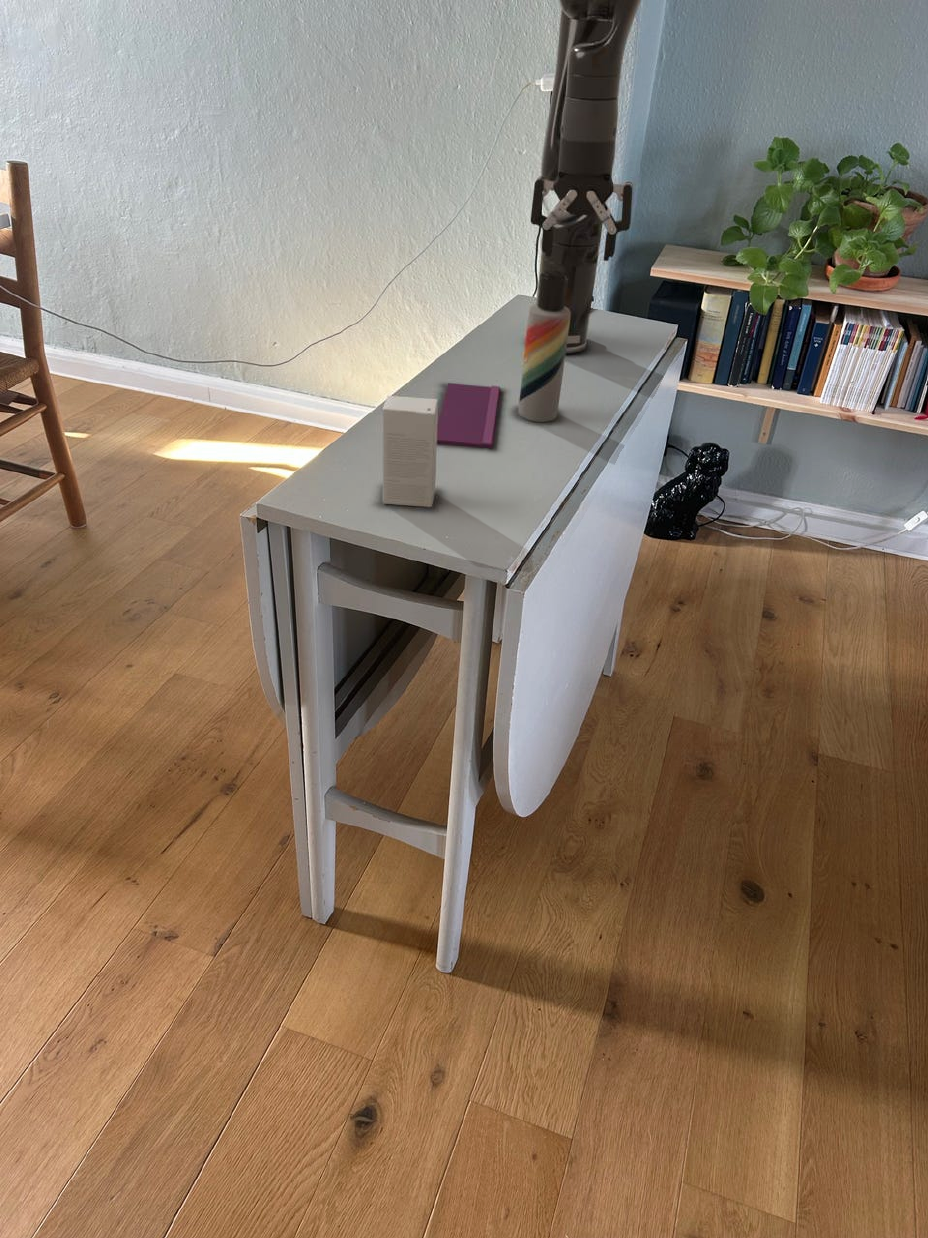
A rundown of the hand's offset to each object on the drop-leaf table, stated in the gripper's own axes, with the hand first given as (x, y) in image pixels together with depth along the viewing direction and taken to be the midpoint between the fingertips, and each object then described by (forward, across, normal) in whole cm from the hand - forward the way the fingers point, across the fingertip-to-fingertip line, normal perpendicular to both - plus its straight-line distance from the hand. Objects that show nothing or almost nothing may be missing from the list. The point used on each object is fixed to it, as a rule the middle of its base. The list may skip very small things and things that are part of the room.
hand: (577, 257), depth 132 cm
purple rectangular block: (+17, +12, +21) cm, 29 cm away
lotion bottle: (+18, +2, +17) cm, 25 cm away
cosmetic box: (+16, +14, +47) cm, 52 cm away
